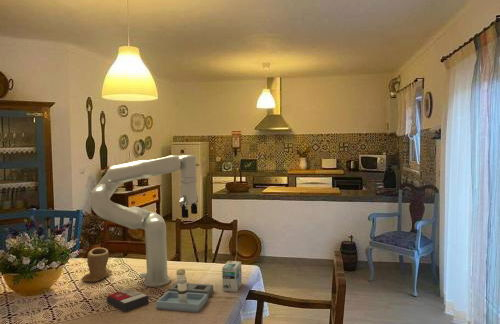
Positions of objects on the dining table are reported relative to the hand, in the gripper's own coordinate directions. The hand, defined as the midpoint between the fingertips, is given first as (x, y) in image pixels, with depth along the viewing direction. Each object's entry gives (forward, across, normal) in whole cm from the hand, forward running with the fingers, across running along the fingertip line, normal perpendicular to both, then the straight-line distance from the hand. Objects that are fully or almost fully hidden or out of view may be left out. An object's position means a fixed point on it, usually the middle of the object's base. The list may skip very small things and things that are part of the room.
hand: (189, 215), depth 191 cm
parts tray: (+31, +29, +10) cm, 44 cm away
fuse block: (+31, +17, +8) cm, 36 cm away
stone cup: (+31, +11, -46) cm, 56 cm away
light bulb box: (+32, +6, +23) cm, 40 cm away
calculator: (+32, +33, -13) cm, 48 cm away
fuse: (+31, +18, +4) cm, 36 cm away
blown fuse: (+30, +29, +10) cm, 43 cm away
